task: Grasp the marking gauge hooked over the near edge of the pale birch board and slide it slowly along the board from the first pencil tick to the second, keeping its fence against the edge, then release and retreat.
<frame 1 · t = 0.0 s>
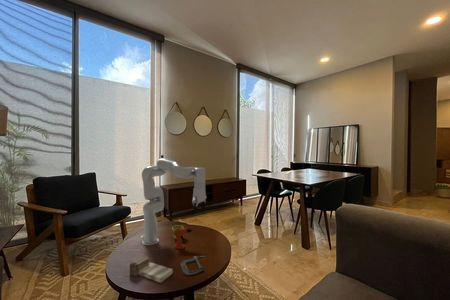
hand: (199, 210, 151), 31 cm above the table, fingers open, 9 cm apart
c clamp: (194, 266, 137), on the table
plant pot: (177, 238, 179), on the table
board: (151, 272, 129), on the table
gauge: (135, 273, 128), on the table, touching board
toy drill: (185, 247, 162), on the table
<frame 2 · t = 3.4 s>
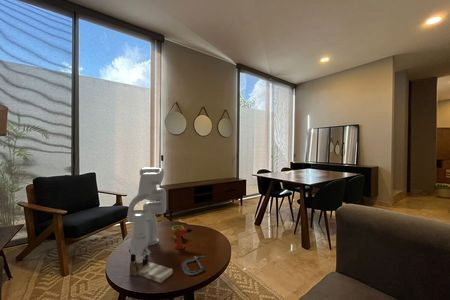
hand: (139, 263, 130), 5 cm above the table, fingers open, 9 cm apart
nothing on the table moved.
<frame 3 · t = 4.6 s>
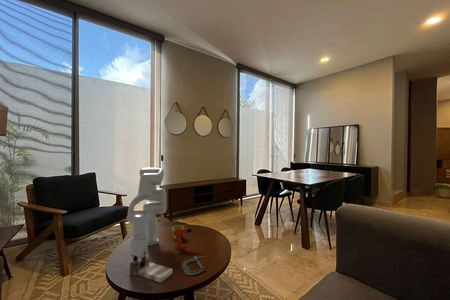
hand: (139, 265, 130), 4 cm above the table, fingers closed on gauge, 5 cm apart
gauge: (135, 273, 128), on the table, touching board, gripper
everything else where it was.
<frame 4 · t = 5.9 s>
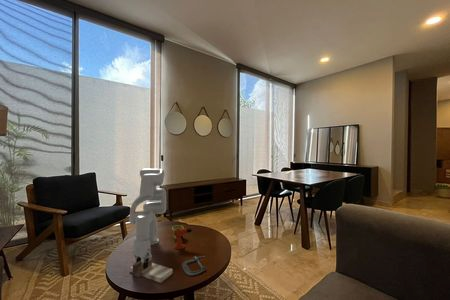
hand: (142, 266, 129), 4 cm above the table, fingers closed on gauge, 5 cm apart
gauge: (138, 274, 127), on the table, touching board, gripper
everything else where it was.
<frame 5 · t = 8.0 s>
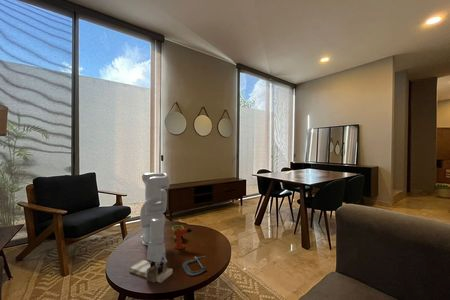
hand: (156, 271, 124), 4 cm above the table, fingers closed on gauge, 5 cm apart
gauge: (153, 280, 122), on the table, touching gripper
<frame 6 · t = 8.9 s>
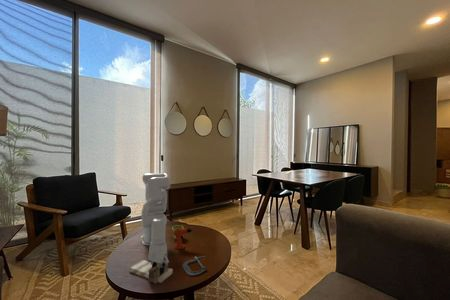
hand: (158, 271, 124), 4 cm above the table, fingers closed on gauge, 5 cm apart
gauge: (154, 280, 121), on the table, touching board, gripper
when the fingers open (4 cm above the table, at t = 9.6 s): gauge stays where it is, resting on board.
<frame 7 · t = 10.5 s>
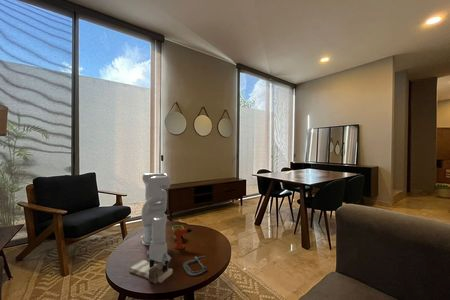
hand: (158, 268, 124), 5 cm above the table, fingers open, 9 cm apart
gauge: (154, 280, 121), resting on board
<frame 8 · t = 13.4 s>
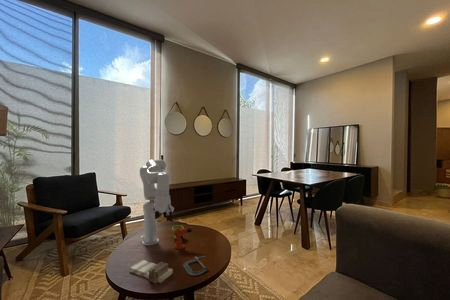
hand: (162, 219, 139), 28 cm above the table, fingers open, 9 cm apart
at the end: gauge inside the target area (0.6 cm from its centre), on the table; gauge tilted 0°; the gripper is holding nothing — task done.
